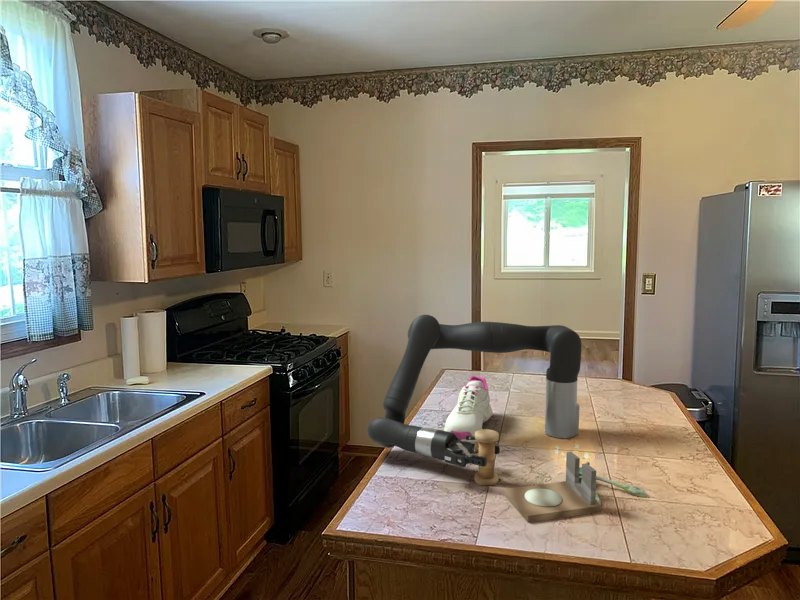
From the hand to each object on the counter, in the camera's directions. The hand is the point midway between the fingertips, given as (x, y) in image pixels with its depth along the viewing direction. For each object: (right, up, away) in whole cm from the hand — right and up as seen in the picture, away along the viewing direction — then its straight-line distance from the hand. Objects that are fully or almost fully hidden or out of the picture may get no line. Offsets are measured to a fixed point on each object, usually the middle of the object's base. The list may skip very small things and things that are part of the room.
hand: (493, 456), depth 145 cm
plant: (+28, -8, -5) cm, 29 cm away
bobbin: (-1, -7, +2) cm, 7 cm away
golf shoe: (-1, -2, +37) cm, 37 cm away
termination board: (+12, -8, -10) cm, 18 cm away
